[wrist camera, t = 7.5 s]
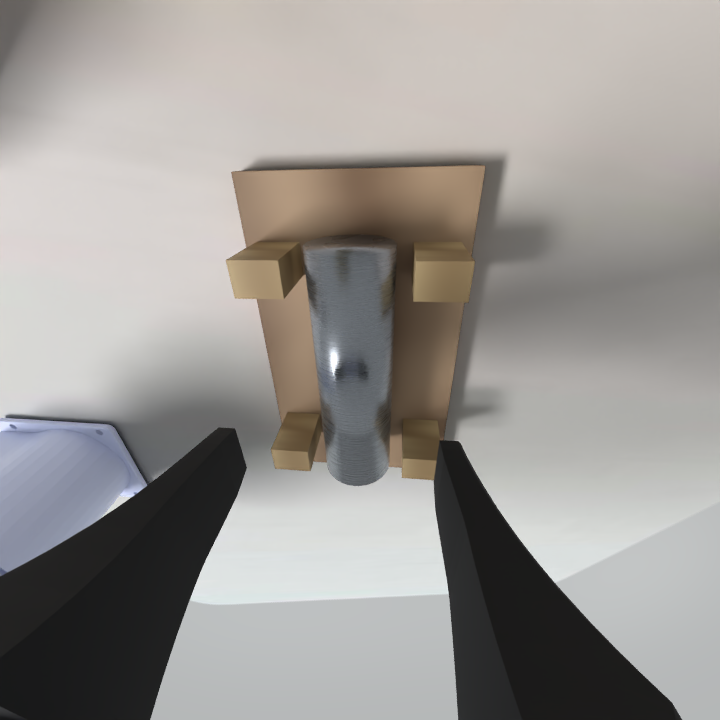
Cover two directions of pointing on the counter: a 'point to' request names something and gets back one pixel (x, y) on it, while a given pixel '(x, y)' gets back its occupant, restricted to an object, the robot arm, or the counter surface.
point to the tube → (353, 349)
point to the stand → (412, 290)
